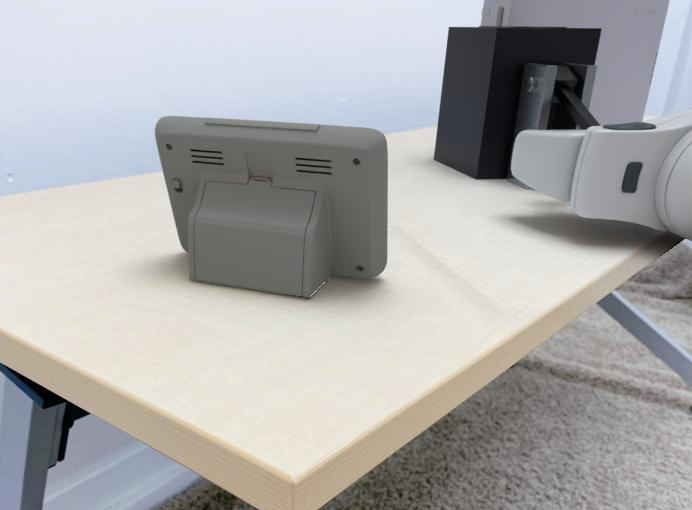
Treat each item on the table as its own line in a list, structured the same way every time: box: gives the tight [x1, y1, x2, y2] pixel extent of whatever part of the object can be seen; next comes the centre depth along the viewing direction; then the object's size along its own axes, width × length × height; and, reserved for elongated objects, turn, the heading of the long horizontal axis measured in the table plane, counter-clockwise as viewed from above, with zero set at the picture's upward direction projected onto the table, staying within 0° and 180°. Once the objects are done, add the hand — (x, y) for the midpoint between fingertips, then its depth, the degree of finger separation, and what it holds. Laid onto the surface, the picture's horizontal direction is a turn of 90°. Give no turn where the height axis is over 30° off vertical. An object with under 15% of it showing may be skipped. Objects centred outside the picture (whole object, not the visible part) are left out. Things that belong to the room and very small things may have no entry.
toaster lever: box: [551, 66, 601, 130], centre depth 66 cm, size 11×6×2 cm, turn 7°
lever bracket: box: [506, 63, 597, 190], centre depth 71 cm, size 5×7×13 cm
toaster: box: [433, 25, 602, 181], centre depth 78 cm, size 12×11×16 cm
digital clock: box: [154, 115, 389, 298], centre depth 48 cm, size 16×9×11 cm, turn 55°
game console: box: [479, 0, 671, 126], centre depth 93 cm, size 6×27×20 cm, turn 115°
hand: (589, 140), depth 64 cm, fingers closed on toaster lever, 6 cm apart
